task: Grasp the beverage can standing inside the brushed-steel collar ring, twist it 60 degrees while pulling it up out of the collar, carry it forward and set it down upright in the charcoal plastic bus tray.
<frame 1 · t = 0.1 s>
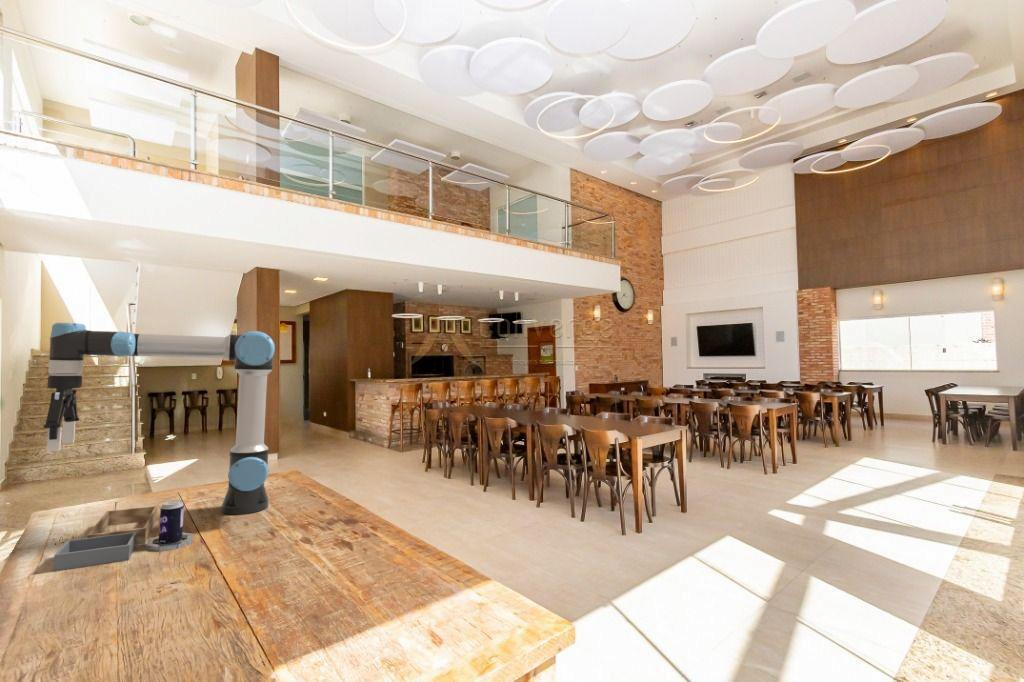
hand: (60, 446, 141), 28 cm above the table, fingers open, 13 cm apart
parts crate: (124, 533, 148), on the table
bus tray: (97, 557, 131), on the table
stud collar: (170, 543, 142), on the table
beverage can: (170, 544, 142), resting in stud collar
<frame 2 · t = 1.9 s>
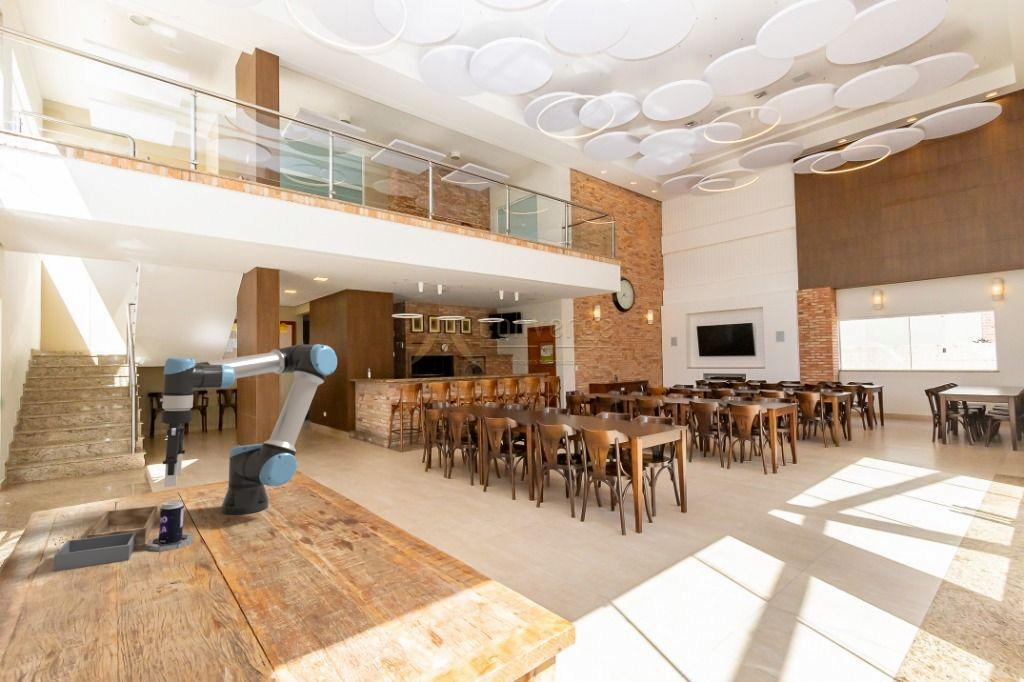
hand: (173, 481, 143), 18 cm above the table, fingers open, 13 cm apart
nothing on the table moved.
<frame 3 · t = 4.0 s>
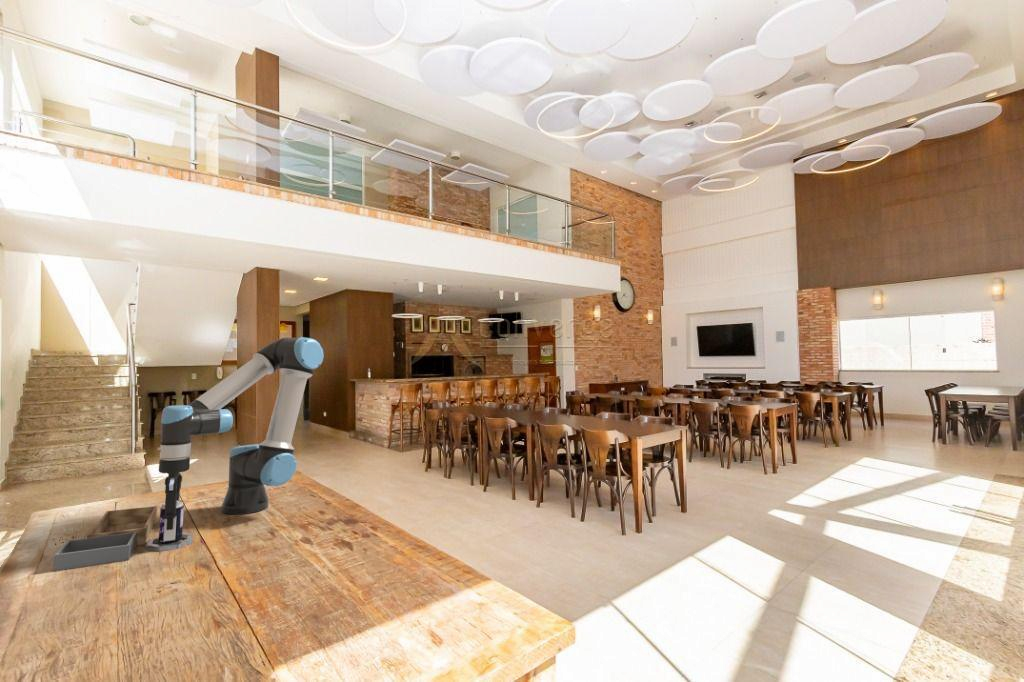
hand: (170, 536, 142), 2 cm above the table, fingers closed on beverage can, 6 cm apart
beverage can: (170, 544, 142), resting in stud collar, touching gripper
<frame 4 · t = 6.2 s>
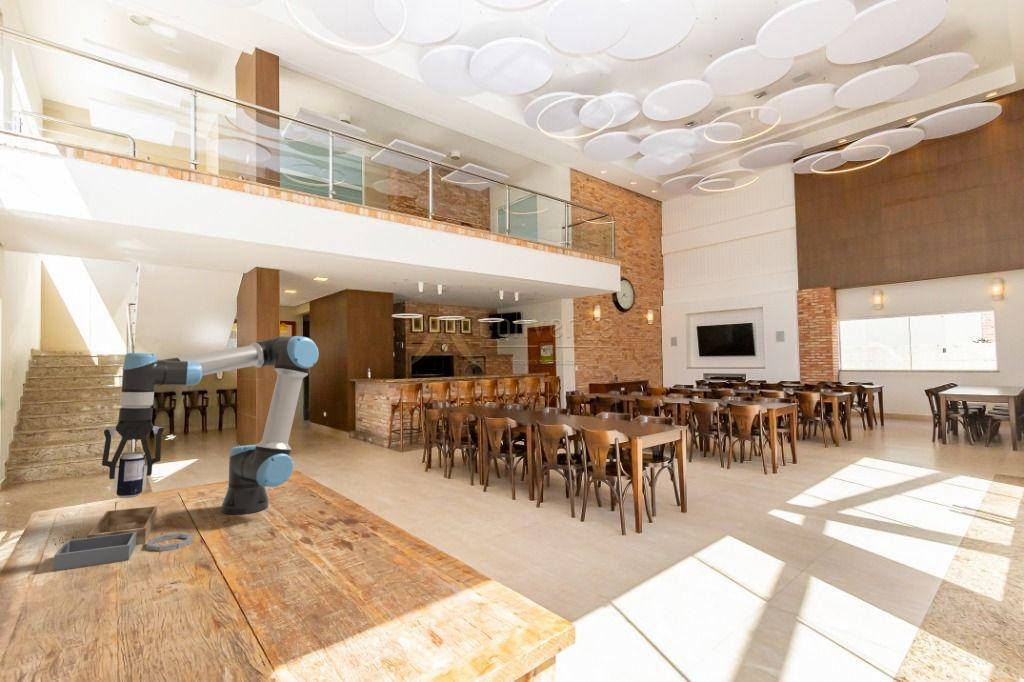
hand: (129, 488, 136), 18 cm above the table, fingers closed on beverage can, 6 cm apart
beverage can: (129, 496, 135), point 15 cm above the table, touching gripper
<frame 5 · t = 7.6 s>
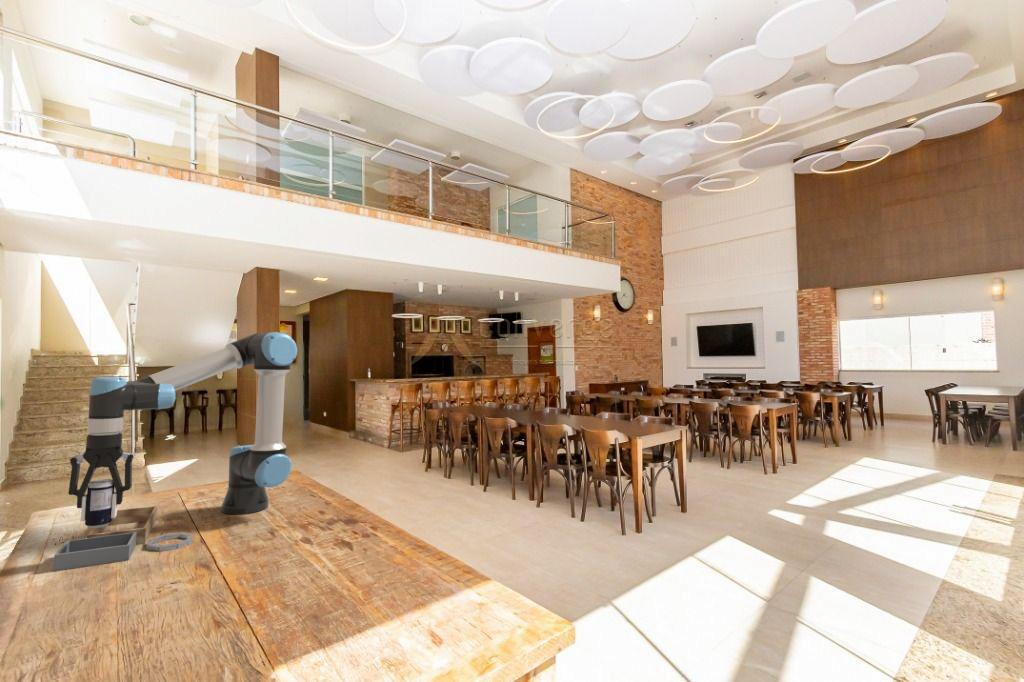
hand: (99, 518, 131), 11 cm above the table, fingers closed on beverage can, 6 cm apart
beverage can: (98, 526, 131), point 9 cm above the table, touching gripper
when the fingers open (5 cm above the table, at t = 8.8 s): beverage can drops 2 cm, resting on bus tray.
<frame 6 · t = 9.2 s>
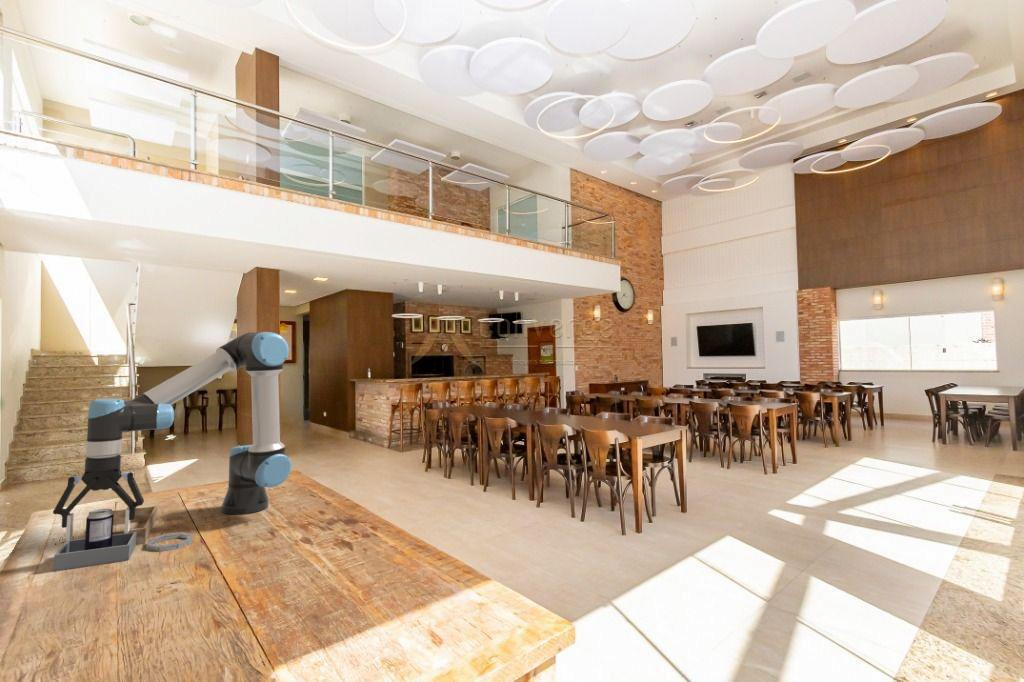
hand: (98, 535, 131), 6 cm above the table, fingers open, 11 cm apart
beverage can: (97, 556, 131), resting on bus tray
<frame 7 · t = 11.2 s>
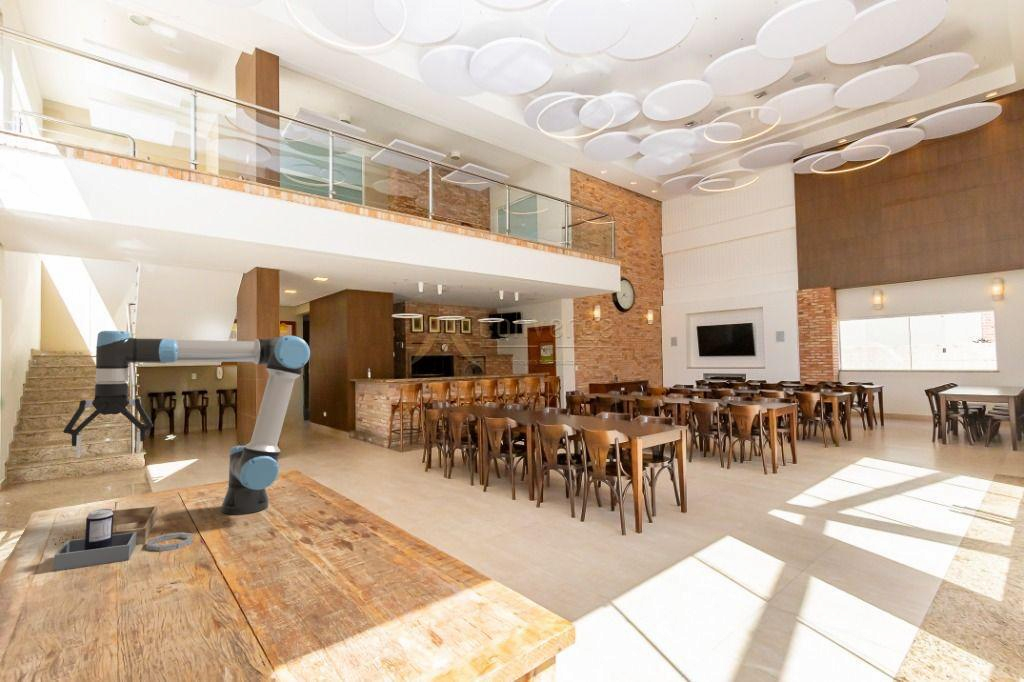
hand: (109, 454, 141), 26 cm above the table, fingers open, 13 cm apart
nothing on the table moved.
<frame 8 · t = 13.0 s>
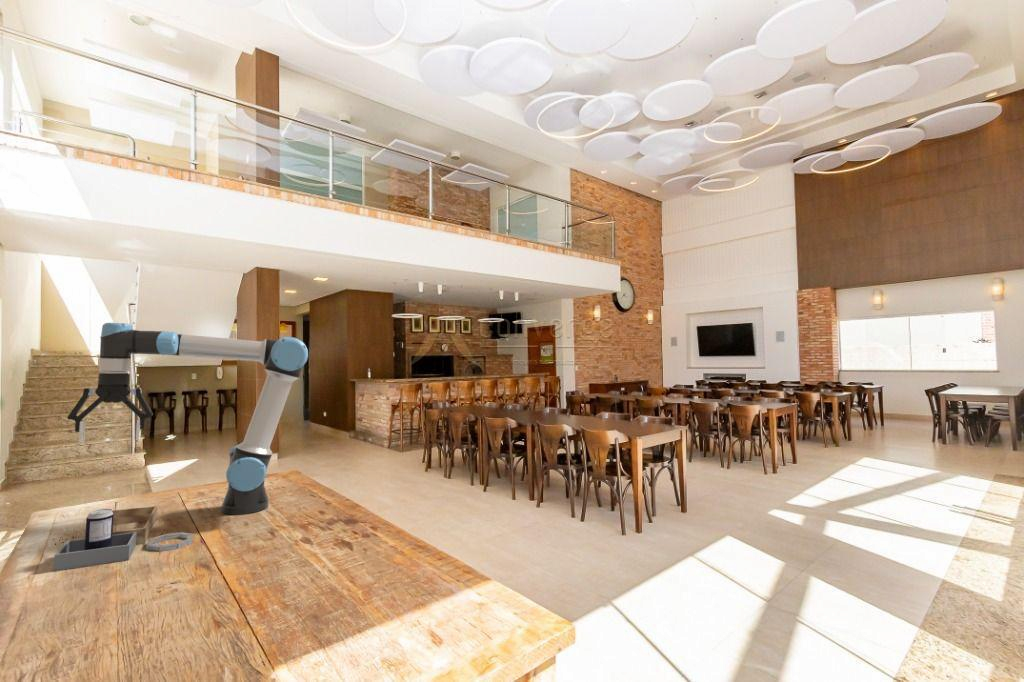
hand: (110, 441, 148), 29 cm above the table, fingers open, 13 cm apart
nothing on the table moved.
at the end: beverage can inside the target area on the bus tray (0.1 cm from its centre), point 0.3 cm above the bus tray's base; beverage can tilted 0°; the gripper is holding nothing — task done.
